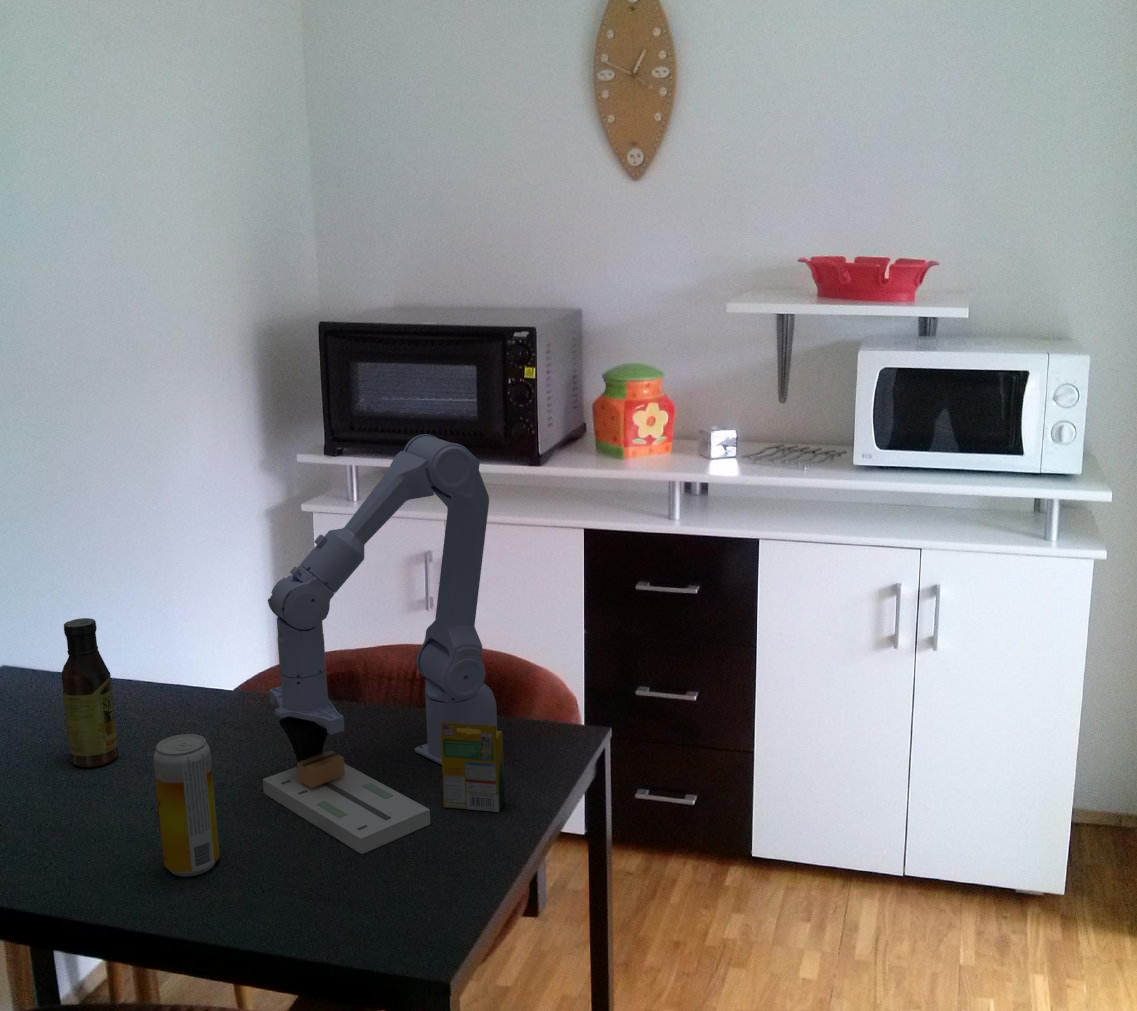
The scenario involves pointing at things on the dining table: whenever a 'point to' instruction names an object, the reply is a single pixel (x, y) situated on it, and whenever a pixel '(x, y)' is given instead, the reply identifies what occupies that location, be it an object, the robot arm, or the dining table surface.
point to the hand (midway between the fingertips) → (309, 769)
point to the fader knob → (321, 768)
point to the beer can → (186, 804)
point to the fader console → (350, 807)
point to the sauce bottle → (88, 698)
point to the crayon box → (472, 766)
